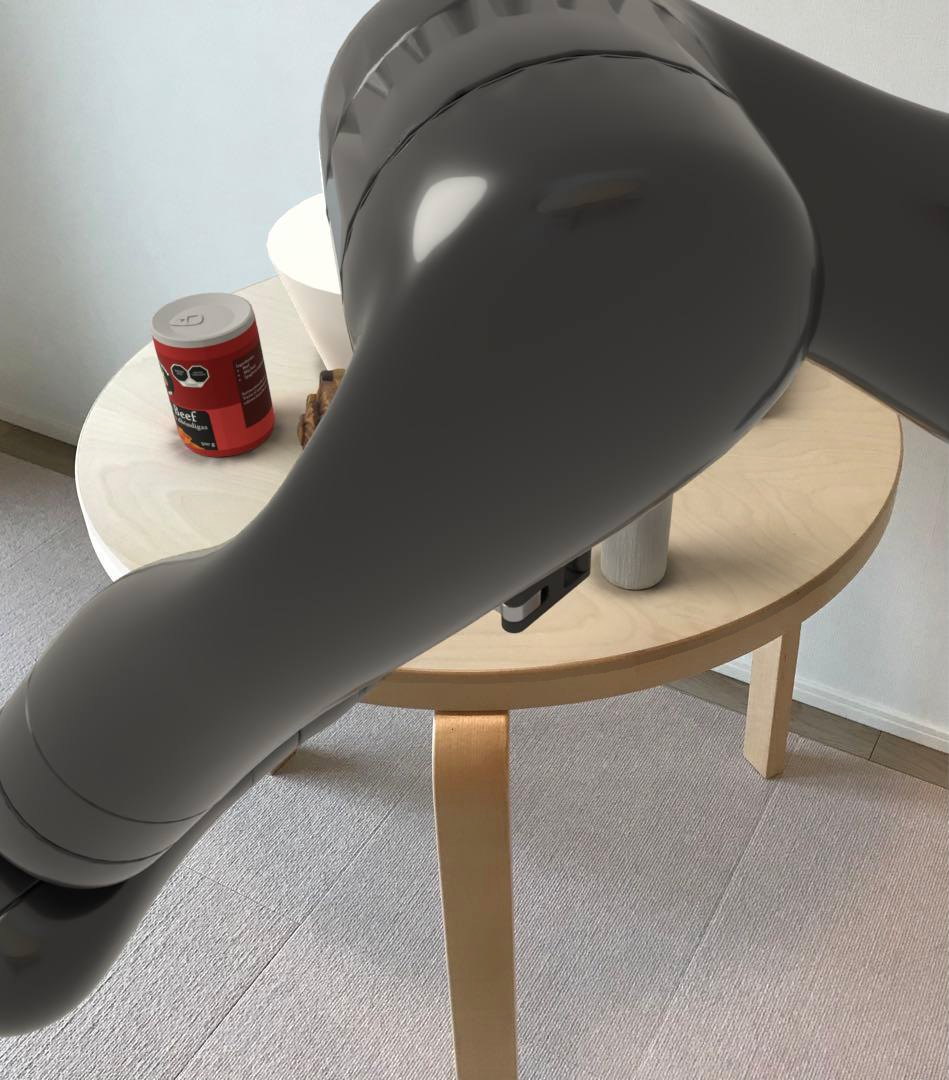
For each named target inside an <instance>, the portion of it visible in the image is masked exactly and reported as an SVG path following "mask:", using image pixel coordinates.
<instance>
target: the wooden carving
mask: <svg viewBox="0 0 949 1080" xmlns="http://www.w3.org/2000/svg"><path fill="white" fill-rule="evenodd" d="M345 372H346V370H345V369H334V370H327V369H324V370H322V371H320V373H319V378H318V383H319V384H318V389H317V391H316V393H309V394H308V395H307V396H306V401H305V403H306V404H305V411H304V413H301V416H300V417H299V419H298V423H297V427H296V433H297V439H298V443H299V445H300V446H301V448H302V451H303V450H304V448H305V447H306V445H307V443H308V441H309V440H310V438H311V436H312V434H313V433H314V431H315V429H316V427H317V426H318V424H319V422H320V421H321V419H322V417H323V415H324V414H325V412H326V410H327V408H328V407H329V405H330V403H331V401H332V398H333V396H334V394H335V392H336V390H337V388H338V386H339V384H340V382H341V380H342V378H343V376H344V374H345Z"/></svg>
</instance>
